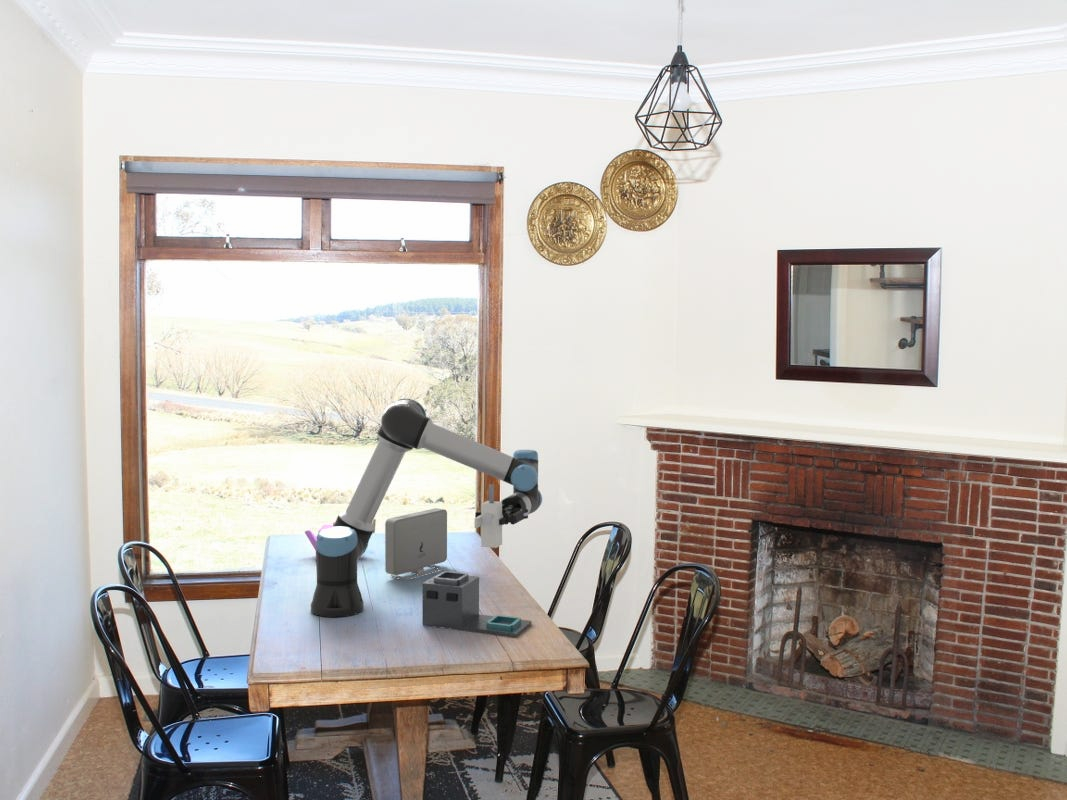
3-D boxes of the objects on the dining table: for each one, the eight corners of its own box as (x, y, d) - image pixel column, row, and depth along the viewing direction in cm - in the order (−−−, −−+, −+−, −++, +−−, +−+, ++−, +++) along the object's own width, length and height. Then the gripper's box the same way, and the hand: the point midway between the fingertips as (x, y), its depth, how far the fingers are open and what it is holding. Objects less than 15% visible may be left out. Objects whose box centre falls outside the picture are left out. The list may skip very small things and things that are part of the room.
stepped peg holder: (515, 638, 267) (516, 589, 266) (421, 625, 276) (421, 579, 275) (531, 624, 279) (532, 578, 278) (440, 613, 288) (440, 568, 287)
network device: (398, 583, 319) (398, 521, 318) (379, 578, 325) (379, 518, 323) (451, 567, 340) (452, 509, 338) (433, 563, 345) (433, 506, 343)
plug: (495, 548, 271) (495, 487, 270) (480, 547, 273) (480, 486, 271) (502, 544, 276) (501, 483, 275) (487, 543, 278) (487, 483, 276)
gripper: (542, 522, 289) (514, 539, 267) (486, 518, 294) (455, 535, 272) (542, 496, 288) (514, 512, 266) (486, 493, 294) (454, 508, 272)
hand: (484, 523), depth 269 cm, fingers closed on plug, 4 cm apart
